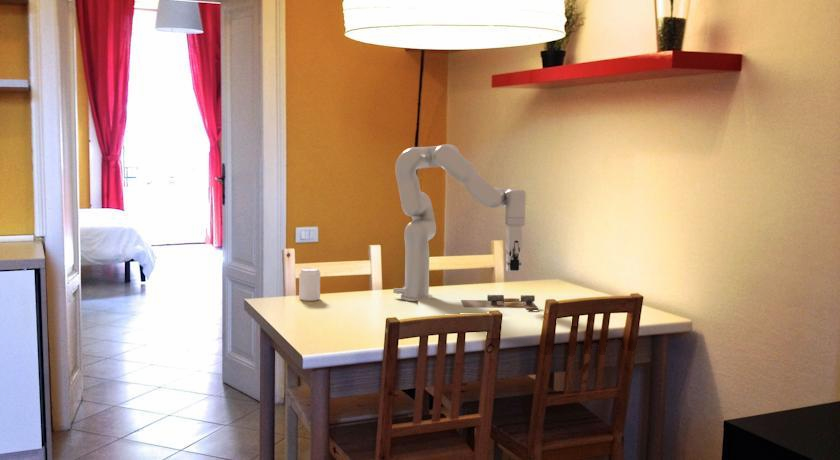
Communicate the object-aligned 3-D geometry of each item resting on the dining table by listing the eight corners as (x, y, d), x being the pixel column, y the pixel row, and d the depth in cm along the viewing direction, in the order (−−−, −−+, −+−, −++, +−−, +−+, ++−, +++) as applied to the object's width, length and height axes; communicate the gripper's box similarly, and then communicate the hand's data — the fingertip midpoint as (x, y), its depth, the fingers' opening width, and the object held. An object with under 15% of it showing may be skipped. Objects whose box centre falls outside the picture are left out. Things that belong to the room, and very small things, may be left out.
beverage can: (322, 297, 316) (322, 267, 314) (317, 302, 308) (317, 271, 306) (301, 297, 316) (302, 267, 315) (296, 301, 308) (296, 270, 307)
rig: (464, 310, 299) (464, 297, 298) (460, 302, 312) (461, 290, 311) (538, 311, 300) (538, 298, 300) (531, 303, 313) (532, 291, 313)
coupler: (507, 271, 302) (508, 255, 301) (505, 269, 307) (505, 253, 306) (521, 271, 302) (521, 256, 301) (518, 269, 307) (519, 254, 307)
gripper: (501, 219, 311) (500, 265, 313) (508, 224, 294) (506, 272, 296) (520, 219, 311) (519, 265, 313) (528, 224, 294) (526, 273, 296)
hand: (513, 268), depth 304 cm, fingers closed on coupler, 5 cm apart
